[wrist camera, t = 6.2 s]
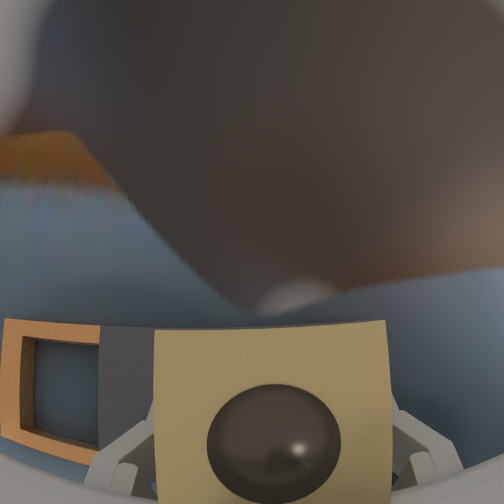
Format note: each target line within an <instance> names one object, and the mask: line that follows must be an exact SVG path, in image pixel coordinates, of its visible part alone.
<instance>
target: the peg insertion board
mask: <svg viewBox="0 0 504 504" xmlns="http://www.w3.org/2000/svg"><path fill="white" fill-rule="evenodd" d="M369 321H370V319H363V320H351V321H339V322H326V323H312V324H295V325H275V326H250V327H198V328H176V327H125V326H101V325H82V324H67V323H53V322H41V321H30V320H19V319H10V318H5V321H4V329H3V339H2V351H1V367H0V425H1V436H3V437H5V438H8V439H10V440H13V441H15V442H18V443H20V444H23V445H25V446H28V447H31V448H34V449H36V450H39V451H42V452H45V453H48V454H51V455H54V456H57V457H61V458H64V459H67V460H71V461H74V462H78V463H82V464H85V465H89V466H90V465H91V462H92V460H93V458H94V455H95V454H97V453H98V452H100V451H101V450H102V449H104V448H105V447H107V446H108V445H109V444H111V443H112V442H114V441H115V440H116V439H118V438H119V437H120V436H122V435H123V434H124V433H126V432H127V431H128V430H130V429H131V428H132V427H134V426H135V425H136V424H138V423H139V422H140V421H142V420H144V421H146V419H147V416H148V413H149V410H150V407H151V405H152V402H153V375H154V335H155V330H240V329H269V328H290V327H307V326H322V325H335V324H347V323H359V322H369ZM36 340H40V341H48V342H57V343H66V344H76V345H87V346H99V355H98V387H97V412H98V444H99V445H96V444H91V443H87V442H82V441H78V440H74V439H70V438H66V437H63V436H59V435H55V434H52V433H48V432H45V431H42V430H38V429H35V428H34V370H35V352H36Z"/></svg>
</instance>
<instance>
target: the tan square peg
mask: <svg viewBox="0 0 504 504" xmlns="http://www.w3.org/2000/svg"><path fill="white" fill-rule="evenodd" d="M153 406H154V445H155V465H156V481H157V494H158V504H391V488H392V455H393V432H392V398H391V379H390V365H389V353H388V342H387V332H386V323H385V320H379V321H369V322H359V323H347V324H335V325H322V326H307V327H290V328H269V329H240V330H155V335H154V375H153Z"/></svg>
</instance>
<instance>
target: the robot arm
mask: <svg viewBox="0 0 504 504" xmlns="http://www.w3.org/2000/svg"><path fill="white" fill-rule="evenodd" d="M391 398H392V432H393V455H392V471H393V472H395V473H396V474H397V475H398V476H399V477H398V478H397V480H396V481H395V483H394V484H393V486H392V488H391V504H504V453H502V454H500V455H498V456H496V457H493V458H491V459H489V460H486V461H484V462H482V463H479V464H477V465H474V466H472V467H469V468H467V469H464V468H463V465H462V463H461V461H460V458H459V456H458V454H457V452H456V449H455V447H454V445H453V443H452V441H450V440H448V439H447V438H445V437H444V436H442V435H441V434H439V433H438V432H436V431H434V430H433V429H431V428H430V427H428V426H427V425H425V424H424V423H422V422H421V421H419V420H418V419H416V418H415V417H413V416H412V415H410V414H409V413H407V412H406V411H404V410H400V411H399V409H398V406H397V404H396V401H395V399H394V396H393V394H392V392H391ZM155 480H156V465H155V445H154V406H153V402H152V405H151V407H150V410H149V413H148V416H147V419H146V421H144V420H142V421H140V422H139V423H138V424H136V425H135V426H134V427H132V428H131V429H130V430H128V431H127V432H126V433H124V434H123V435H122V436H120V437H119V438H118V439H116V440H115V441H114V442H112V443H111V444H109V445H108V446H107V447H105V448H104V449H102V450H101V451H100V452H98V453H97V454H95V455H94V458H93V460H92V462H91V465H90V467H89V470H88V472H87V475H86V477H85V480H84V482H83V484H82V483H79V482H76V481H72V480H69V479H66V478H63V477H60V476H57V475H54V474H51V473H49V472H46V471H43V470H40V469H38V468H35V467H33V466H30V465H28V464H25V463H23V462H21V461H18V460H16V459H14V458H11V457H9V456H7V455H5V454H3V453H0V504H158V497H157V495H156V494H155V492H154V491H153V490H152V488H151V487H150V485H151V484H152V483H153V482H154V481H155Z"/></svg>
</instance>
